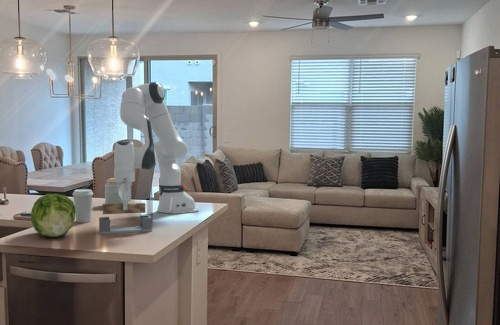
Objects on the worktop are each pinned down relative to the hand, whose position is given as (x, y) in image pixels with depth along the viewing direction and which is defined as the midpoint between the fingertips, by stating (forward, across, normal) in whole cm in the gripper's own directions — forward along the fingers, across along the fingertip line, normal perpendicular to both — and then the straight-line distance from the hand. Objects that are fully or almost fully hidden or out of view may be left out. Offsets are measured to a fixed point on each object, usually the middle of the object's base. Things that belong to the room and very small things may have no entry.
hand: (124, 208), depth 221 cm
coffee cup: (+10, +27, +17) cm, 33 cm away
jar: (+10, +68, -2) cm, 69 cm away
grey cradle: (+10, 0, 0) cm, 10 cm away
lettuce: (+10, 0, +28) cm, 30 cm away
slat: (+2, 0, 0) cm, 2 cm away
